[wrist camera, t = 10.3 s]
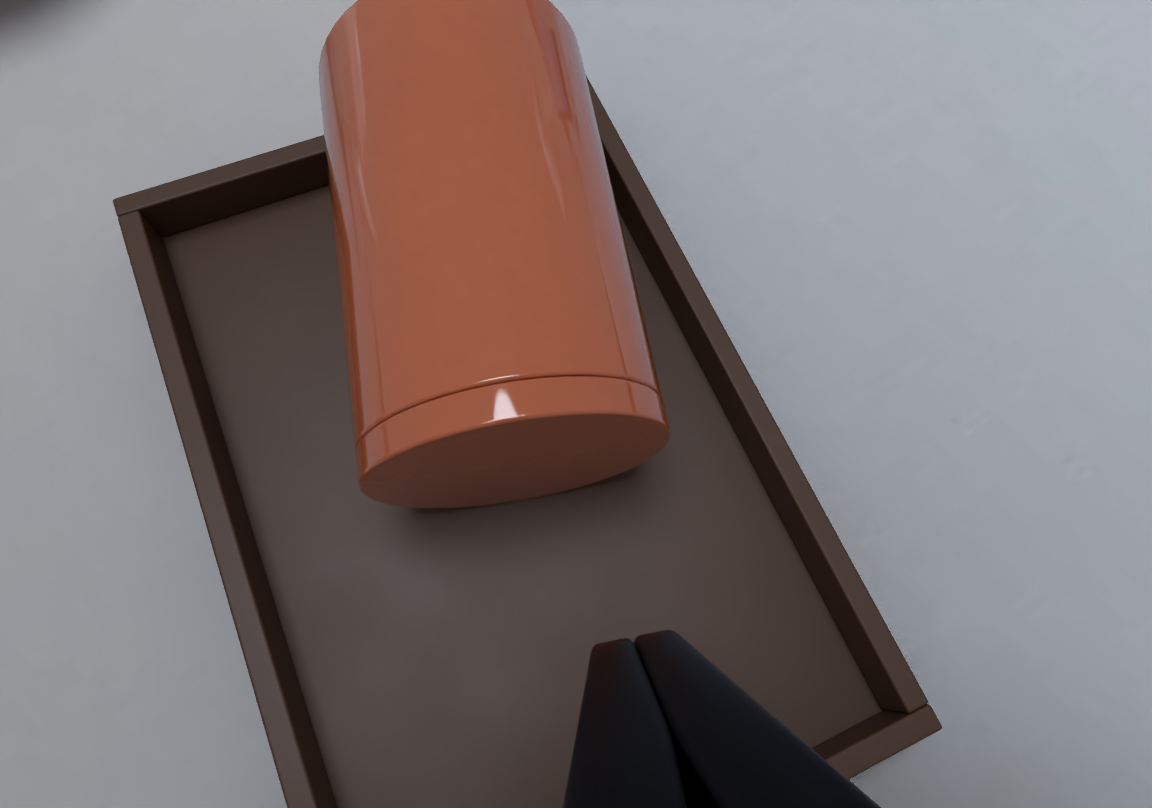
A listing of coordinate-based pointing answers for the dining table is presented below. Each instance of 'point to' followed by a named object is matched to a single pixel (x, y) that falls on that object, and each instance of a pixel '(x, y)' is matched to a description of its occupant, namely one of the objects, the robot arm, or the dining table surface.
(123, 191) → the dining table surface
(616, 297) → the orange canister
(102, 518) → the dining table surface
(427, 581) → the walnut tray
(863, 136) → the dining table surface
